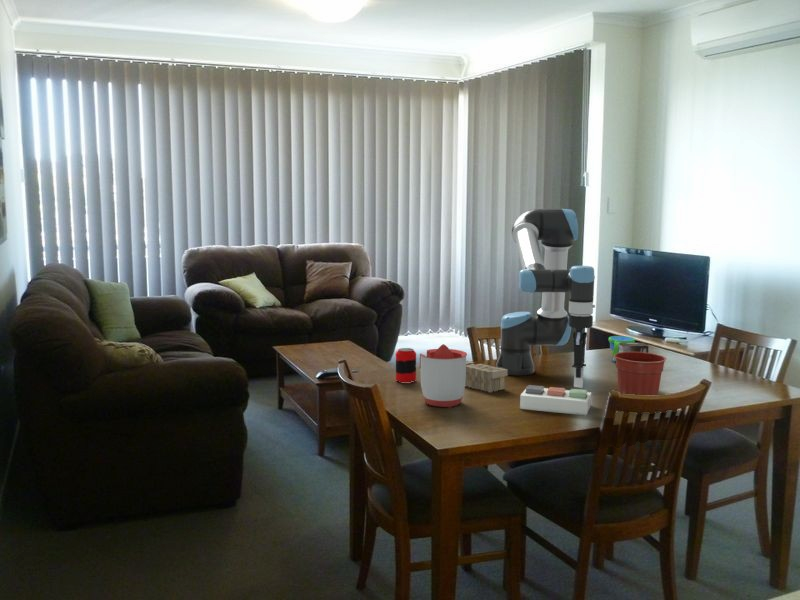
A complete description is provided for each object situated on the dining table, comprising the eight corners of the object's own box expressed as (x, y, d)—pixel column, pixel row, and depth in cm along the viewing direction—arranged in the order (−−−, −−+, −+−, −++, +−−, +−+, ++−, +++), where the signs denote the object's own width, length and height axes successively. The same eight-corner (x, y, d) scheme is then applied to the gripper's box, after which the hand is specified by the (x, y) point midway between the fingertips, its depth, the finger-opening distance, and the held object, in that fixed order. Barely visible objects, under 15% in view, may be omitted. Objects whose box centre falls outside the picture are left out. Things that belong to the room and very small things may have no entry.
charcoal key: (525, 397, 245) (525, 388, 245) (528, 393, 250) (528, 385, 250) (540, 398, 244) (541, 389, 243) (543, 395, 248) (543, 386, 248)
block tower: (435, 381, 284) (492, 394, 262) (435, 359, 283) (492, 370, 261) (450, 378, 289) (507, 390, 267) (450, 356, 288) (507, 367, 266)
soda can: (420, 380, 280) (420, 349, 278) (406, 384, 274) (406, 352, 273) (405, 377, 285) (405, 346, 283) (391, 381, 279) (391, 349, 278)
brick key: (547, 399, 243) (547, 390, 243) (549, 395, 248) (549, 386, 247) (562, 400, 241) (562, 391, 241) (564, 397, 246) (565, 388, 246)
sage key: (568, 401, 241) (569, 392, 240) (571, 397, 245) (571, 388, 245) (584, 403, 239) (585, 393, 238) (586, 399, 244) (586, 390, 243)
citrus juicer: (426, 394, 261) (426, 337, 258) (473, 400, 253) (473, 342, 251) (407, 405, 247) (407, 345, 244) (456, 411, 239) (457, 350, 237)
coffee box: (642, 385, 274) (644, 342, 272) (647, 389, 267) (649, 345, 265) (617, 385, 274) (619, 342, 272) (621, 389, 268) (623, 345, 266)
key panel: (520, 408, 243) (520, 395, 242) (527, 399, 254) (527, 386, 254) (586, 415, 236) (587, 401, 235) (590, 405, 247) (591, 392, 246)
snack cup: (625, 366, 304) (626, 342, 302) (601, 363, 310) (602, 339, 309) (640, 360, 316) (641, 336, 315) (616, 357, 322) (617, 334, 321)
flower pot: (672, 403, 249) (675, 356, 247) (649, 413, 238) (651, 364, 236) (627, 394, 261) (629, 349, 259) (602, 403, 249) (604, 356, 247)
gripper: (590, 318, 231) (588, 392, 234) (595, 312, 243) (592, 383, 246) (566, 316, 234) (563, 390, 237) (571, 311, 246) (569, 381, 249)
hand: (578, 386), depth 241 cm, fingers closed
